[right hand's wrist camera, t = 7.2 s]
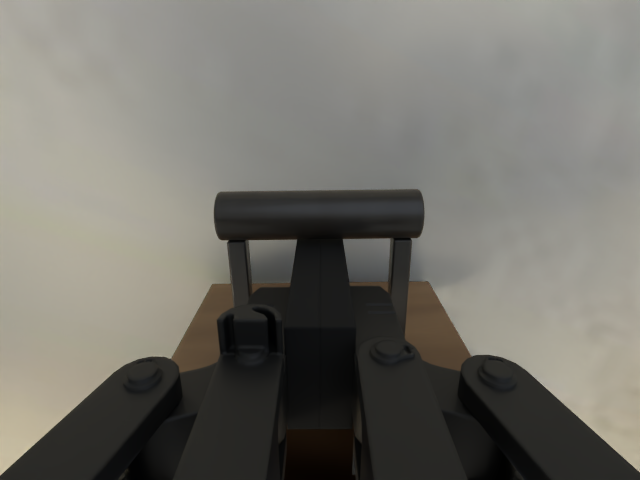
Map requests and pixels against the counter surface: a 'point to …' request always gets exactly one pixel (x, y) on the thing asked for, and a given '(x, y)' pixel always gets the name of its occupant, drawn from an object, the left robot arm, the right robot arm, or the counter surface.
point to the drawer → (349, 223)
